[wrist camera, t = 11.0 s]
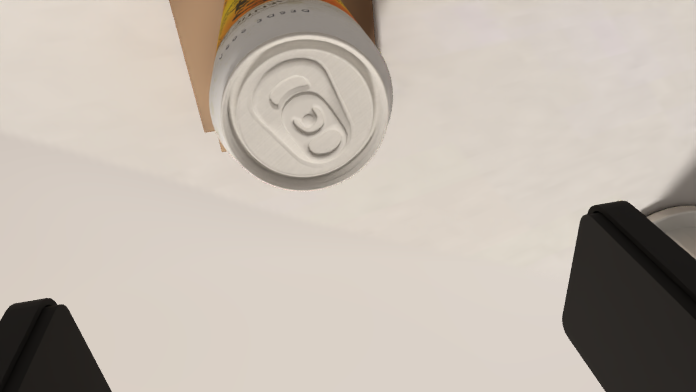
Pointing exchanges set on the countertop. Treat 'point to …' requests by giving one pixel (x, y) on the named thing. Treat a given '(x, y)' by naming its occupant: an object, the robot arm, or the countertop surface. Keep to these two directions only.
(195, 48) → the holder
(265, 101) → the beer can
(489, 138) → the countertop surface
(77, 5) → the countertop surface
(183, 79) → the countertop surface
